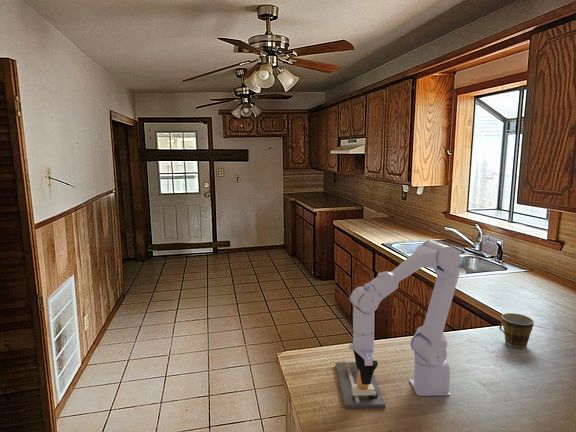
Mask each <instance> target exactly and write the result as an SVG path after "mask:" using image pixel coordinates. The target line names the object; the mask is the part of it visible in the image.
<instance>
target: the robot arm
mask: <svg viewBox="0 0 576 432" xmlns="http://www.w3.org/2000/svg"><path fill="white" fill-rule="evenodd" d="M460 260H461V255H460V253H459V252H458V251H457V249H456V248H455V247H453V246H448V245H446V244H443V243H439V242H437V241H435V240H433V239H429V240H428V239H427V240H426V241H424V242H423V243H422V244H421V245H418V246H417V247H416V249H415V251H414V252H413V253H412V254H411V255H409V256H408V257H407V258H406V259H405V260H404V261H402V262H401V263H400V264H399V265H398V266H396V267H394V269H392V270H391V271H382V272H381V271H380V272H378V273H377V276H376V277H375V278H373V279H372V280H371V281H368V283H367V282H366V283H365V284H363V286H358V287H356V288H354V289H353V290H352V292H351V294H350V295H349V301H350V303H351V304H352V306H353V309H352V310H353V312H352V315H353V316H352V318H353V319H352V324H353V325H352V327H353V329H352V333H353V336H352V340H353V341H352V343H348V349H349V350H352V351H353V355H354V358H355V361H356V366H357V369H359V370H360V376H361V381H362V384H363V385H369V384H370V383H371V379H372V375H373V374H374V372H375V370H376V369H377V368H378V365H379V363H378V361H377V360H374V359H373V356H374V352H375V349H376V346H375V311H376V310H377V309H378V308H379V305H380V303H381V302H382V300H384V299H385V298H387V297H388V296H390V294H392V293H393V292H394V291H396V290H397V289H398V288H399V282H401V281H403V280H404V279H406V278H408V277H409V276H411V275H412V274H414V273H415V272H417V271H419V270H420V269H422V268H430V269H433V270H434V272H435V273H436V279H435V283H434V286H433V290H432V294H431V298H430V301H429V304H428V308H427V311H426V314H425V315H426V316H425V319H424V322H423V325H421V326H419V327H417V328H416V331H415V333H414V334H413V336H412V338H411V339H410V347H411V350H412V351H413V353H414V354H413V355H414V370H413V371H414V373H413V375H414V376H413V378H409V380H408V381H409V383H410V384H411V386H412V389H413V390H414V392H415V394H416V395H417V396H418V397H419V396H421V397H424V396H425V397H426V396H427V397H428V396H450V395H451V393H450V381H451V380H450V377H451V373H450V372H451V371H450V369H451V368H450V366H449V363H448V361H447V360H446V359H447V356H448V353H447V346H448V341H447V339H446V336H445V334H444V329H445V326H446V322H447V319H448V316H449V312H450V308H451V306H452V305H451V304H452V302H453V298H454V294H455V291H456V288H457V287H456V286H457V284H458V280H459V277H460V276H459V275H460V269H459V267H460V266H459V265H460Z"/></svg>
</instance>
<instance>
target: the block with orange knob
mask: <svg viewBox="0 0 576 432" xmlns="http://www.w3.org/2000/svg"><path fill="white" fill-rule="evenodd" d="M352 394H353V396H357V395H375V391H374V387H373V384H369V385H363V384H362V381H361V376H360V371H358V372H357V384H352Z"/></svg>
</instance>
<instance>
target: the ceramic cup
mask: <svg viewBox="0 0 576 432" xmlns="http://www.w3.org/2000/svg"><path fill="white" fill-rule="evenodd" d="M501 321H502V322H501V323H500V325H499V330H500V332H502V333H503V334H504V341H505V345H506V346H508V347H510V348H512V349H518V350H522V349H526V348H527V345H528V342H529V339H530V336H531V333H532V331H533V327H534V324H535V320H533V318H531V317H530V316H527V315H524V314H521V313H513V312H511V313H510V312H507V313H504V314H502V315H501ZM502 327H503V328H502Z"/></svg>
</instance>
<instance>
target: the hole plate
mask: <svg viewBox="0 0 576 432" xmlns="http://www.w3.org/2000/svg"><path fill="white" fill-rule="evenodd" d="M335 368H336V369H335V370H336V372H337V373H336V375H337V377H338V381H339V387H340V391H341V394H342V401H343V404H344V407H345V409H346V410H350V409H351V410H353V409H354V410H356V409H357V410H358V409H361V410H362V409H363V410H365V409H386V402H385V400H384V397H383V394H382V392H381V390H380V387H379V384H378V382H377V379H376V377H375V373H373V375H372V379H371V383H370V384H373V387H374V391H375V395H357V396H353V394H352V384H357V372H358V371H360V370H359V369H357V366H356V361H355V357H353V358H352V357H351V358H350V357H349V358H347V357H346V358H344V361H343V362H335Z"/></svg>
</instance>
